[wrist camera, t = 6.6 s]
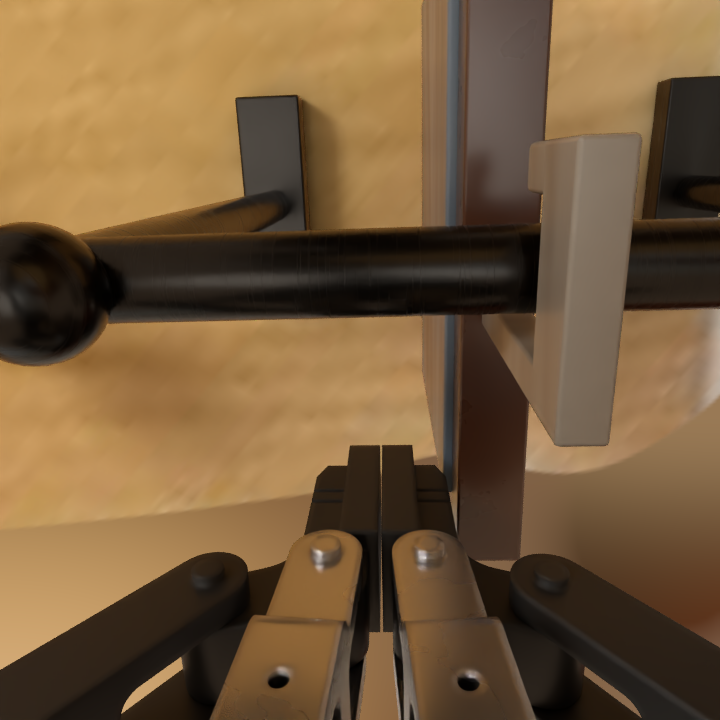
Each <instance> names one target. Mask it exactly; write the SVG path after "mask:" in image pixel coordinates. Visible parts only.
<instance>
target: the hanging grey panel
mask: <svg viewBox="0 0 720 720" xmlns="http://www.w3.org/2000/svg"><path fill="white" fill-rule="evenodd" d="M552 9H553V0H423V3H422V227H428V226H459V225H490V224H521V223H540V211H541V194H543V206H542V222H541V239H540V255H539V272H538V289H537V305H536V317H535V316H534V313H526V314H484V315H443V316H422V372H423V378H424V384H425V390H426V396H427V401H428V407H429V413H430V419H431V425H432V430H433V436H434V442H435V448H436V454H437V459H438V465H439V470H440V471H441V472H442V473H443V474H444V475H445V476H446V480H447V485H448V492H452V502H451V506H452V511H453V517H454V522H455V527H456V532H457V537H458V540H459V541H460V542H461V543H462V544H463V546H464V548H465V550H466V553H467V555H468V556H469V557H470V558H472V559H473V560H519V559H520V547H521V531H522V514H523V497H524V480H525V463H526V446H527V430H528V413H529V403H530V404H531V406H532V408H533V409H534V411H535V413H536V414H537V416H538V418H539V419H540V421H541V423H542V424H543V426H544V428H545V429H546V431H547V433H548V434H549V436H550V438H551V439H552V441H553V443H554V444H555V445H556V446H560V447H571V446H606V445H608V443H609V439H610V430H611V420H612V411H613V402H614V393H615V383H616V374H617V365H618V356H619V346H620V337H621V328H622V319H623V310H624V300H625V291H626V282H627V273H628V263H629V254H630V245H631V236H632V227H633V217H634V208H635V199H636V190H637V180H638V171H639V162H640V153H641V144H642V137H641V135H640V134H638V133H613V134H587V135H578V136H571V137H564V138H558V139H552V140H545V127H546V110H547V93H548V76H549V60H550V43H551V26H552Z"/></svg>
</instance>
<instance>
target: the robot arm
mask: <svg viewBox="0 0 720 720" xmlns="http://www.w3.org/2000/svg"><path fill="white" fill-rule="evenodd" d="M381 540H382V585H383V586H382V588H383V589H382V590H383V632H393V651H394V652H393V654H394V656H393V657H394V676H395V686H396V695H397V704H398V714H399V720H720V648H719V647H718V646H716V645H714V644H712V643H711V642H709V641H707V640H706V639H704V638H702V637H701V636H699V635H697V634H695V633H694V632H692V631H690V630H689V629H687V628H685V627H684V626H682V625H680V624H678V623H677V622H675V621H673V620H672V619H670V618H668V617H667V616H665V615H663V614H661V613H660V612H658V611H656V610H655V609H653V608H651V607H649V606H648V605H646V604H644V603H642V602H641V601H639V600H637V599H636V598H634V597H632V596H631V595H629V594H627V593H626V592H624V591H622V590H621V589H619V588H617V587H615V586H614V585H612V584H610V583H609V582H607V581H605V580H603V579H602V578H600V577H598V576H597V575H595V574H593V573H592V572H590V571H588V570H586V569H585V568H583V567H581V566H580V565H578V564H576V563H574V562H572V561H570V560H568V559H565V558H563V557H560V556H556V555H550V554H532V555H528V556H524V557H522V558H520V559H519V560H517V561H516V562H515V563H514V564H513V566H512V568H511V571H510V572H509V571H505V570H500V569H496V568H492V567H488V566H486V565H483V564H481V563H479V562H477V561H475V560H473V559H472V558H470V557H469V556H468V555H467V553H466V550H465V548H464V546H463V544H462V543H461V542H460V541H459V540H458V537H457V532H456V527H455V522H454V517H453V511H452V506H451V502H450V496H449V492H448V485H447V480H446V476H445V475H444V474H443V473H442V472H441V471H440V470H439V469H438V468H437V467H436V466H435V465H414V459H413V449H412V445H382V516H381V471H380V445H358V446H350V450H349V457H348V465H347V466H328V467H327V468H326V469H325V470H324V471H323V472H322V473H321V474H320V475H319V476H318V477H317V480H316V484H315V489H314V493H313V498H312V503H311V507H310V511H309V516H308V521H307V525H306V530H305V534H304V536H303V537H301V538H299V539H298V540H297V541H296V542H295V543H294V544H293V545H292V547H291V549H290V551H289V554H288V557H287V560H286V561H284V562H282V563H280V564H277V565H274V566H271V567H267V568H264V569H259V570H254V571H250V572H248V569H247V565H246V563H245V562H244V561H243V560H242V559H241V558H240V557H238V556H236V555H234V554H230V553H225V552H213V553H207V554H202V555H199V556H196V557H194V558H191V559H189V560H188V561H186V562H184V563H182V564H180V565H179V566H177V567H175V568H174V569H172V570H170V571H169V572H167V573H165V574H164V575H162V576H160V577H158V578H157V579H155V580H153V581H151V582H150V583H148V584H146V585H145V586H143V587H141V588H139V589H138V590H136V591H134V592H133V593H131V594H129V595H128V596H126V597H124V598H123V599H121V600H119V601H117V602H116V603H114V604H112V605H110V606H109V607H107V608H106V609H104V610H102V611H100V612H99V613H97V614H95V615H93V616H92V617H90V618H88V619H87V620H85V621H83V622H81V623H80V624H78V625H76V626H75V627H73V628H71V629H70V630H68V631H66V632H65V633H63V634H61V635H59V636H57V637H56V638H54V639H52V640H51V641H49V642H47V643H46V644H44V645H42V646H40V647H39V648H37V649H35V650H34V651H32V652H30V653H28V654H27V655H25V656H23V657H22V658H20V659H18V660H16V661H15V662H13V663H11V664H10V665H8V666H6V667H5V668H3V669H1V670H0V720H359V718H360V710H361V703H362V695H363V687H364V680H365V671H366V653H367V651H368V647H369V632H380V593H381ZM179 657H181V658H182V664H183V669H182V670H181V671H179V672H178V673H177V674H175V675H174V676H172V677H171V678H170V679H168V680H167V681H166V682H164V683H163V684H162V685H160V686H159V687H158V688H156V689H155V690H154V691H152V692H151V693H149V694H148V695H147V696H145V697H144V698H143V699H141V700H140V701H139V702H137V703H136V704H134V705H133V706H132V707H130V708H129V709H128V710H126V711H125V712H124V713H122V714H121V712H122V709H123V706H124V704H125V702H126V700H127V699H128V698H129V696H130V695H131V694H132V692H134V691H135V690H136V689H137V688H138V687H139V686H141V685H142V684H143V683H145V682H146V681H148V680H149V679H150V678H152V677H153V676H155V675H156V674H157V673H159V672H160V671H161V670H163V669H164V668H166V667H167V666H168V665H170V664H171V663H173V662H174V661H176V660H177V659H178V658H179ZM585 667H587V668H588V669H590V670H591V671H592V672H594V673H595V674H596V675H598V676H599V677H600V678H602V679H603V680H605V681H606V682H607V683H609V684H610V685H611V686H613V687H614V688H615V689H617V690H618V691H620V692H621V693H622V694H624V695H625V696H626V697H627V698H628V699H629V700H630V701H631V702H632V703H633V704H634V705H635V707H636V708H637V710H638V711H639V713H640V715H641V717H642V718H640V717H639V716H638V715H637V714H635V713H634V712H632V711H631V710H630V709H629V708H627V707H626V706H625V705H623V704H622V703H621V702H619V701H618V700H617V699H615V698H614V697H612V696H611V695H610V694H609V693H607V692H606V691H605V690H603V689H602V688H600V687H599V686H598V685H596V684H595V683H594V682H592V681H591V680H590V679H588V678H587V677H586V676H584V668H585Z"/></svg>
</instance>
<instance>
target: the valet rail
mask: <svg viewBox="0 0 720 720" xmlns="http://www.w3.org/2000/svg"><path fill="white" fill-rule="evenodd" d="M235 101H236V112H237V123H238V133H239V144H240V154H241V165H242V176H243V186H244V197H240V198H236V199H232V200H227V201H223V202H218V203H214V204H210V205H205V206H201V207H196V208H192V209H188V210H183V211H179V212H174V213H170V214H166V215H161V216H157V217H152V218H148V219H144V220H139V221H135V222H130V223H126V224H122V225H117V226H113V227H108V228H104V229H100V230H95V231H91V232H86V233H82V234H78V235H73V234H71V233H69V232H67V231H65V230H63V229H60V228H58V227H55V226H52V225H48V224H42V223H36V222H17V223H9V224H5V225H1V226H0V360H2V361H4V362H8V363H11V364H16V365H21V366H49V365H53V364H58V363H62V362H65V361H67V360H70V359H72V358H74V357H76V356H78V355H80V354H81V353H83V352H84V351H85V350H87V349H88V348H89V347H90V346H92V345H93V344H94V343H95V341H96V340H97V339H98V338H99V337H100V335H101V334H102V332H103V331H104V329H105V327H106V325H107V324H112V323H153V322H195V321H236V320H277V319H319V318H360V317H402V316H443V315H484V314H526V313H536V305H537V289H538V272H539V255H540V239H541V223H521V224H490V225H459V226H428V227H397V228H365V229H334V230H310V219H309V202H308V186H307V170H306V154H305V137H304V121H303V105H302V98H300V97H299V96H298V95H279V96H257V97H237V98H236V100H235ZM718 213H720V76H706V77H683V78H671V79H668V80H664V81H661V82H658V86H657V95H656V104H655V113H654V122H653V130H652V139H651V148H650V157H649V166H648V175H647V183H646V192H645V201H644V210H643V219H642V220H633V227H632V236H631V245H630V254H629V263H628V273H627V282H626V291H625V300H624V310H623V311H650V310H691V309H720V217H718Z"/></svg>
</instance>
